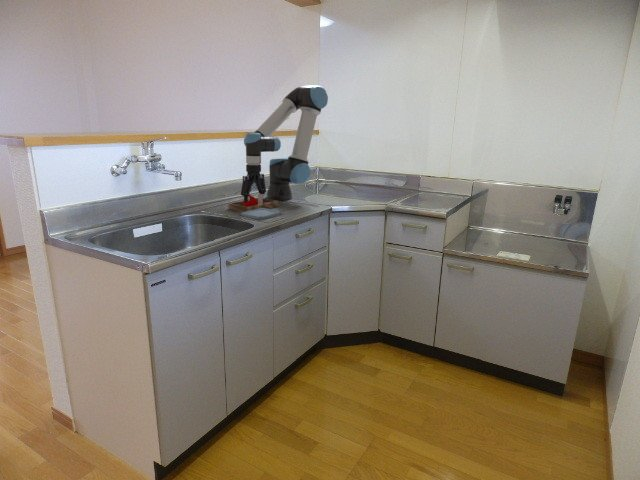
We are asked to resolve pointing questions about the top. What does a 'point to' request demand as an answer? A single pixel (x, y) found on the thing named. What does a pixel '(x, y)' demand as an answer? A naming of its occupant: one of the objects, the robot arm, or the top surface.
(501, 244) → the top surface
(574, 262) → the top surface
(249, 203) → the gemstone
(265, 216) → the tray
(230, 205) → the frame
